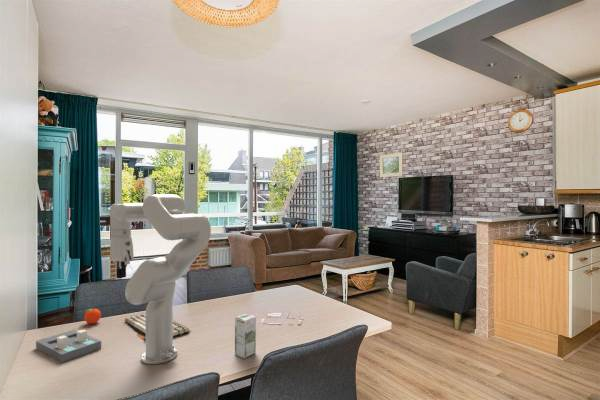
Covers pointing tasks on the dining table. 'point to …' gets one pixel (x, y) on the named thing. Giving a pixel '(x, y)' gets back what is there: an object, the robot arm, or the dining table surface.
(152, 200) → the robot arm
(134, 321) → the mechanical keyboard
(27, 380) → the dining table surface
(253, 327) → the syrup box
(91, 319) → the clementine
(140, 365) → the dining table surface
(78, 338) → the tab
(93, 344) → the switch panel
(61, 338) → the tab
